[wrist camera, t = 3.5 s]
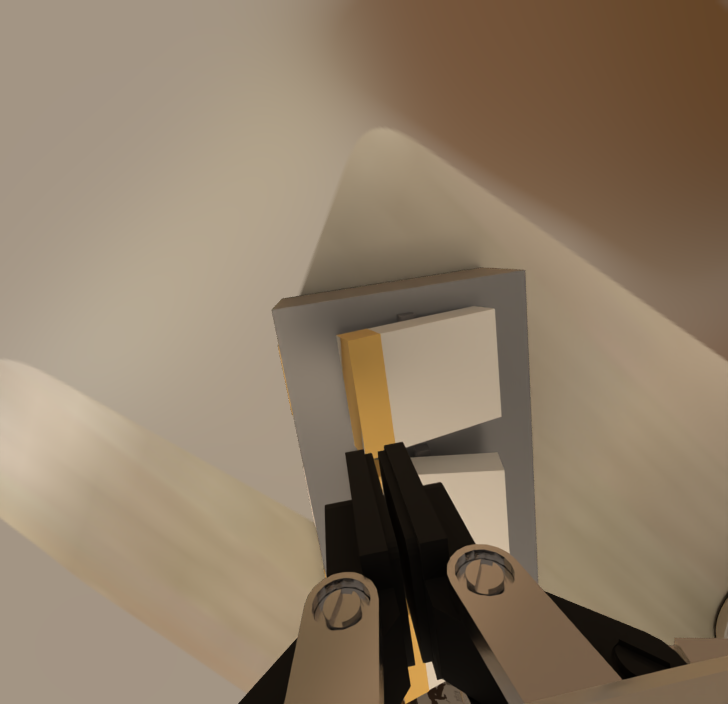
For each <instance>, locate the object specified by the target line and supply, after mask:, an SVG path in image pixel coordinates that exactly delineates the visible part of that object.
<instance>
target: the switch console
mask: <svg viewBox="0 0 728 704" xmlns="http://www.w3.org/2000/svg"><path fill="white" fill-rule="evenodd" d="M471 306H478V307H486V308H494V309H495V319H496V335H497V351H498V368H499V384H500V400H501V416H502V417H499V418H495V419H492V420H489V421H486V422H483V423H480V424H477V425H474V426H471V427H468V428H465V429H462V430H459V431H455V432H452V433H449V434H446V435H443V436H440V437H437V438H434V439H431V440H428V441H425V442H422V443H418V444H415V445H412V446H409V447H406V450H407V452H408V454H409V456H410V458H411V457H428V456H444V455H461V454H478V453H495V452H498V455H499V457H500V460H501V463H502V465H503V468H504V471H505V487H506V503H507V519H508V536H509V552H510V555H511V556H513V557H514V558H515V559H516V560H517V561H518V562H519V563H520V564H521V566H522V567H523V568H524V569H525V570H526V571H527V572H528V574H529V575H530V576H531V577H532V578H533V579H534V580H535V581H536V583H537V584H538V567H537V543H536V519H535V495H534V471H533V447H532V423H531V399H530V375H529V351H528V327H527V303H526V279H525V270H517V269H499V268H475V269H469V270H462V271H456V272H450V273H443V274H437V275H430V276H424V277H418V278H411V279H405V280H398V281H392V282H385V283H379V284H373V285H366V286H360V287H353V288H347V289H341V290H334V291H328V292H321V293H315V294H309V295H302V296H296V297H290V298H283V299H281V300H280V302H279V303H278V304H277V305H276V306H275V307H274V308H273V309H272V315H273V319H274V324H275V329H276V334H277V339H278V344H279V345H278V349H279V354H280V359H281V364H282V368H283V373H284V378H285V383H286V388H287V393H288V397H289V403H290V407H291V412H292V415H293V417H294V422H295V427H296V432H297V437H298V441H299V446H300V451H301V456H302V461H303V470H304V476H305V481H306V485H307V490H308V495H309V500H310V505H311V510H312V515H313V520H314V524H315V526H316V530H317V534H318V539H319V544H320V549H321V554H322V559H323V564H324V573H325V578H327V576H326V542H325V505H326V504H332V503H337V502H342V501H347V500H352V498H351V491H350V484H349V477H348V470H347V463H346V456H345V452H351V451H356V450H357V448H356V447H355V445H354V440H353V434H352V428H351V421H350V415H349V409H348V403H347V397H346V391H345V385H344V379H343V373H342V367H341V361H340V355H339V349H338V343H337V337H336V335H339V334H344V333H349V332H353V331H358V330H363V329H368V328H373V327H378V326H382V325H387V324H392V323H396V322H401V321H406V320H410V319H415V318H420V317H424V316H429V315H434V314H438V313H443V312H448V311H452V310H457V309H462V308H466V307H471ZM374 460H378V458H375V459H374Z"/></svg>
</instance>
